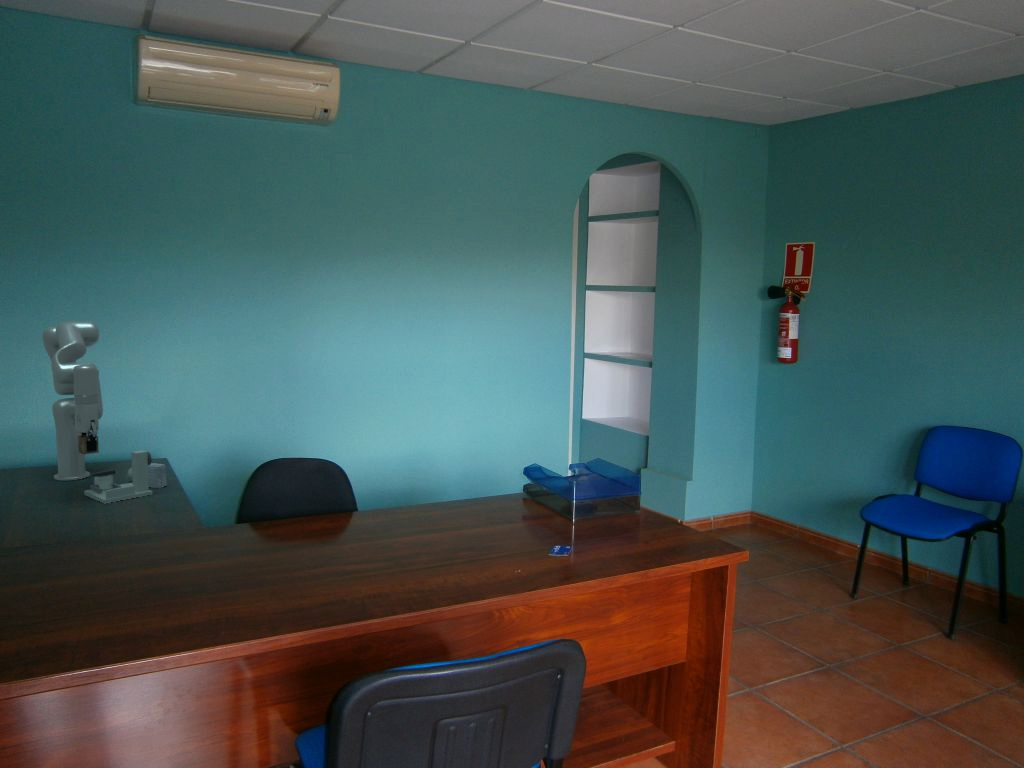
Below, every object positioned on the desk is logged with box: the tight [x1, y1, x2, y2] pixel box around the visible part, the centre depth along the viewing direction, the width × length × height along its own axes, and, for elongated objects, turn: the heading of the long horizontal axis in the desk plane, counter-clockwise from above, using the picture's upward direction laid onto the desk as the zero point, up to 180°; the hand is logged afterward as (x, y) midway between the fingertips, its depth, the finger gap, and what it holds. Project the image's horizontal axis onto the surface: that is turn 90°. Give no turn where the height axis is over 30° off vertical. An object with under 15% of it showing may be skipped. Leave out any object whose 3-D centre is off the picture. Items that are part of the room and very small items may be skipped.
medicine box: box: [148, 462, 167, 489], centre depth 303 cm, size 8×4×9 cm, turn 71°
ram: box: [90, 469, 116, 490], centre depth 292 cm, size 4×8×6 cm, turn 139°
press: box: [83, 449, 154, 505], centre depth 290 cm, size 18×18×16 cm
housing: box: [78, 435, 100, 455], centre depth 283 cm, size 5×5×6 cm
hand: (88, 449), depth 283 cm, fingers closed on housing, 5 cm apart
